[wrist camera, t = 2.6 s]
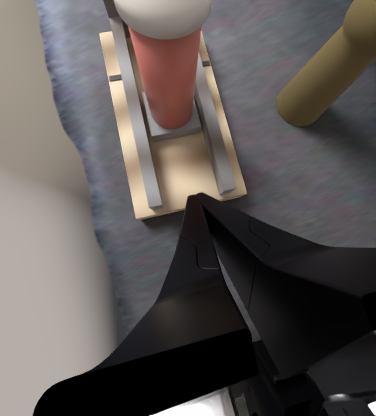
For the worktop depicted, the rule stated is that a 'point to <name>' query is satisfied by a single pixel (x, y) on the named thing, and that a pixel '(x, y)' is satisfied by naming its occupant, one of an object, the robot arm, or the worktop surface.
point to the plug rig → (173, 147)
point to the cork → (331, 67)
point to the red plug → (167, 60)
